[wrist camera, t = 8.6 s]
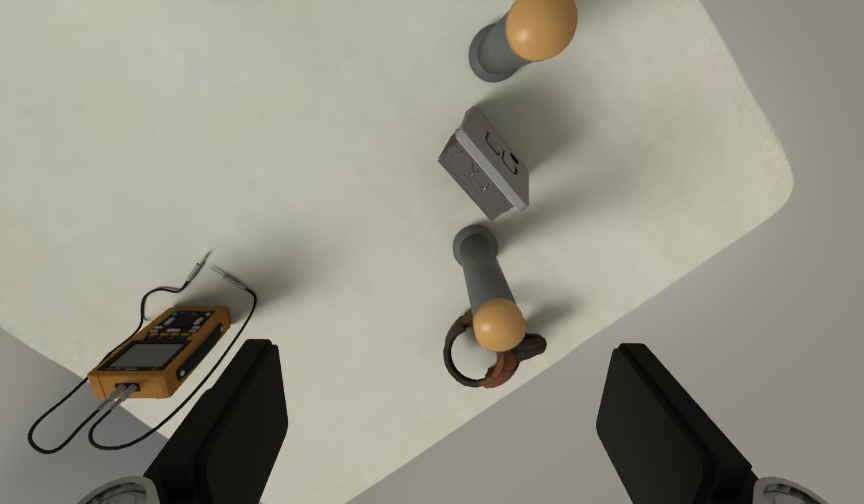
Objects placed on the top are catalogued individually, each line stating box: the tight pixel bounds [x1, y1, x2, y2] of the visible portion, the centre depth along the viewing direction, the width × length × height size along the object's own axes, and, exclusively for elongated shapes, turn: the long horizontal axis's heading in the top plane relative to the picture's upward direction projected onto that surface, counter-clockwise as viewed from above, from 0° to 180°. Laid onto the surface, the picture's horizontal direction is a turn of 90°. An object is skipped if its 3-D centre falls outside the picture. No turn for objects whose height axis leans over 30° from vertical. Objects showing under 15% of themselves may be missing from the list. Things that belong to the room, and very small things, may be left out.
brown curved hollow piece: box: [443, 310, 547, 388], centre depth 48 cm, size 12×10×8 cm
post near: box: [469, 0, 577, 82], centre depth 31 cm, size 5×5×18 cm
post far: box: [453, 225, 526, 351], centre depth 38 cm, size 5×5×18 cm
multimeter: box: [28, 253, 257, 454], centre depth 39 cm, size 15×10×20 cm
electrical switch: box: [438, 106, 529, 220], centre depth 39 cm, size 9×5×9 cm, turn 42°
